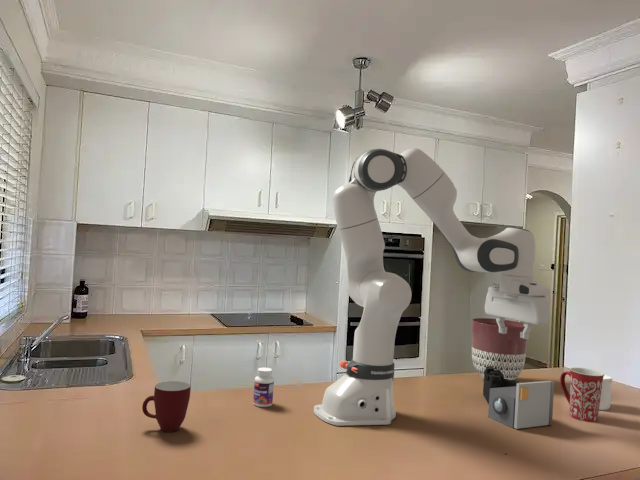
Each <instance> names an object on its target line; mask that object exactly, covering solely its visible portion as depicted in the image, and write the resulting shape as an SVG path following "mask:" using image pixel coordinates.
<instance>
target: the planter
mask: <svg viewBox="0 0 640 480" xmlns="http://www.w3.org/2000/svg"><path fill="white" fill-rule="evenodd" d="M504 324H505V327H507V333H506V334H502V333H499V326H498V324H497V321H496V318H491V317H490V318H489V317H488V318H487V317H481V318H480V317H476V318H472V319H471V359H472V365H473V367H474V369H475V371H476V372H477V373H478V375H479V376H480V378H482V379H484V371H485V369H486V367H488V366H493V368H495V369H494V370H498V369H499V370H500V371H501V372H502V374H503V376H504V379H509V380H516V379H517V378H518V377H519V376H520V375H521V374H522V371H523V369H524V366H525V362H526V354H527V348H528V347H527V346H528V340H529V339H522V338H520V332H523V330H524V328H525V326H524V322H521V321H517V320H511V319H505V321H504Z"/></svg>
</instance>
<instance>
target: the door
mask: <svg viewBox="0 0 640 480" xmlns="http://www.w3.org/2000/svg"><path fill="white" fill-rule="evenodd" d="M554 395H555V381H553V380H542V381H531V382H530V381H528V382H519V383H517V387H516V403H515V419H514V428H513V429H515V430H518V429H520V430H521V429H525V428H526V429H527V428H533V427H534V428H535V427H543V426H552V425H553V412H554V397H555V396H554Z"/></svg>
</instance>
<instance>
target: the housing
mask: <svg viewBox="0 0 640 480" xmlns="http://www.w3.org/2000/svg"><path fill="white" fill-rule="evenodd" d="M516 387H517V386H514V387H501V388H490V395H489V404H488V413H487V414H488V416H487V417H488V418H490V419H492V420H494V421H496V422H499V423H500V424H502V425H505V426H507V427H509V428H511V429H515V428H514V419H515V403H516Z"/></svg>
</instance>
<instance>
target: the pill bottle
mask: <svg viewBox="0 0 640 480" xmlns="http://www.w3.org/2000/svg"><path fill="white" fill-rule="evenodd" d="M272 375H273V368H270V367H258V368H257V376H255V378H254V382H253V383H254V385H253V397H252V399H253V400H252V404H253V405H254V406H255V407H259V408H267V407H271V406H273V403H274V402H273V400H274V388H275V387H274V386H275V378H274V377H273V376H272Z"/></svg>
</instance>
